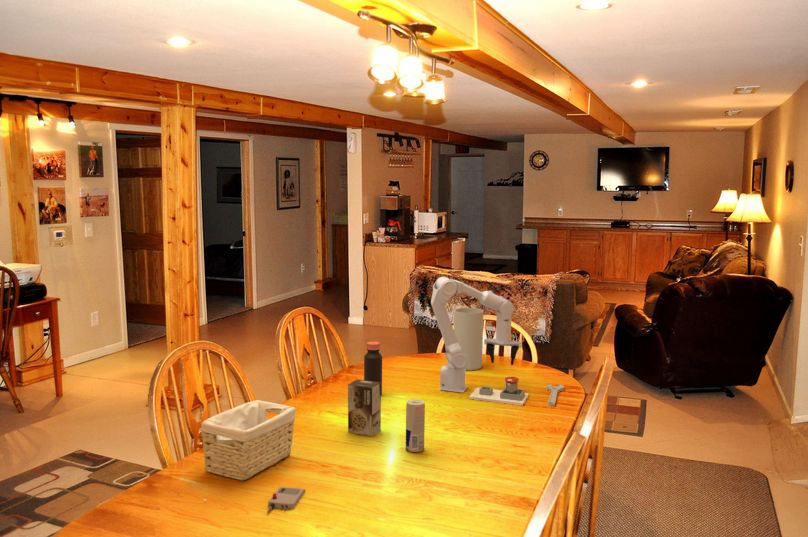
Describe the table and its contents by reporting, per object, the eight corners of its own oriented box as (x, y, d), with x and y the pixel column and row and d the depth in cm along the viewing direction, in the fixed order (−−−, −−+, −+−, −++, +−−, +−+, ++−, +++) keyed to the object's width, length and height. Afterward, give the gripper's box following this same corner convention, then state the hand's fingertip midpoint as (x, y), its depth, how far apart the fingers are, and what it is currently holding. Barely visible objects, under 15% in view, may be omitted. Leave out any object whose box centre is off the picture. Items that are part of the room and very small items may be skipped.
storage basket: (255, 444, 210) (254, 397, 208) (298, 454, 203) (298, 406, 201) (198, 473, 189) (197, 421, 187) (245, 486, 182) (244, 432, 180)
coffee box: (381, 430, 223) (381, 382, 221) (372, 437, 217) (372, 387, 215) (356, 426, 226) (357, 378, 224) (347, 432, 221) (347, 383, 219)
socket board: (469, 399, 256) (469, 391, 255) (476, 390, 267) (477, 382, 267) (522, 405, 249) (523, 397, 249) (528, 396, 260) (528, 388, 260)
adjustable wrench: (554, 408, 248) (555, 403, 248) (537, 406, 250) (537, 401, 250) (564, 388, 271) (564, 384, 271) (548, 386, 274) (548, 382, 273)
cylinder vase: (451, 369, 295) (453, 312, 292) (454, 362, 307) (455, 307, 304) (481, 371, 293) (482, 313, 290) (482, 363, 305) (484, 308, 302)
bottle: (385, 395, 258) (385, 343, 256) (369, 398, 255) (370, 346, 252) (375, 391, 264) (376, 340, 261) (360, 394, 260) (360, 342, 258)
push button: (502, 397, 255) (503, 379, 254) (507, 394, 259) (507, 376, 258) (516, 399, 252) (516, 381, 251) (520, 395, 257) (520, 377, 256)
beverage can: (426, 447, 209) (427, 399, 207) (420, 454, 204) (421, 405, 202) (409, 444, 211) (409, 397, 209) (403, 451, 206) (403, 403, 204)
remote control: (307, 489, 181) (307, 478, 180) (288, 518, 165) (288, 506, 165) (283, 487, 182) (283, 476, 181) (262, 515, 167) (261, 503, 166)
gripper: (483, 330, 267) (482, 364, 269) (520, 333, 263) (519, 367, 265) (486, 326, 274) (485, 359, 276) (523, 329, 269) (522, 363, 271)
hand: (502, 363), depth 271 cm, fingers open, 7 cm apart
